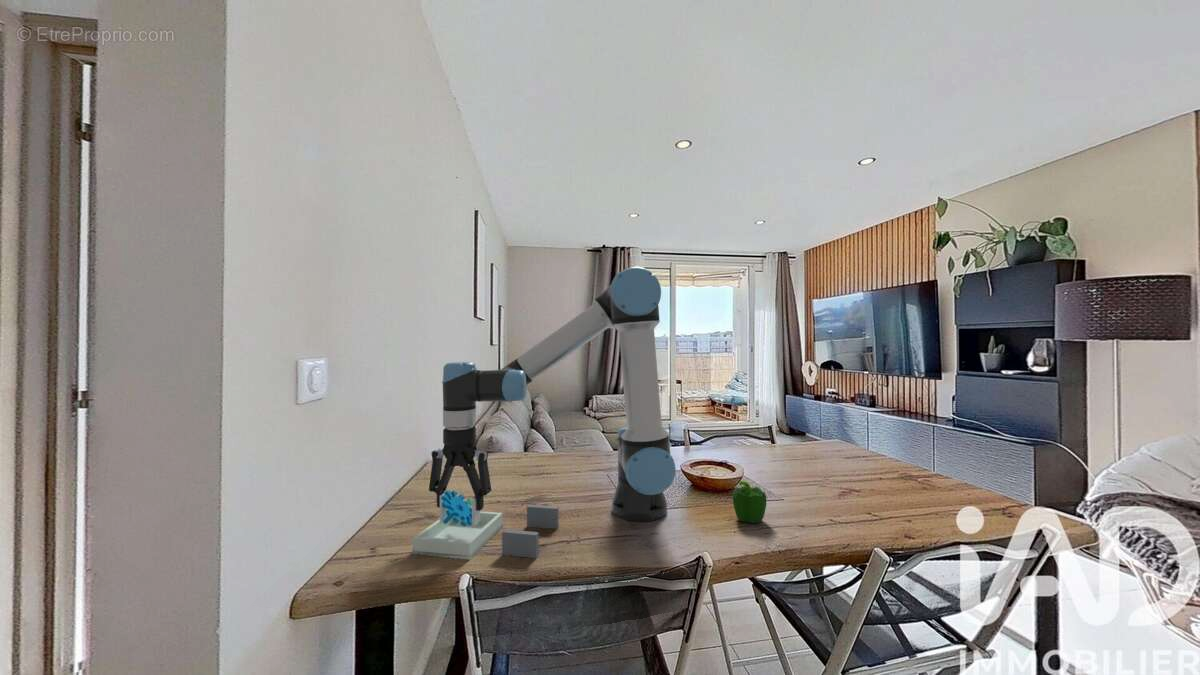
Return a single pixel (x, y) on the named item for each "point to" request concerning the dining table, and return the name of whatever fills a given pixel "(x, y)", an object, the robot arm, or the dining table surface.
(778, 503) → the dining table surface
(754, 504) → the bell pepper
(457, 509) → the gear
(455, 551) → the parts tray
